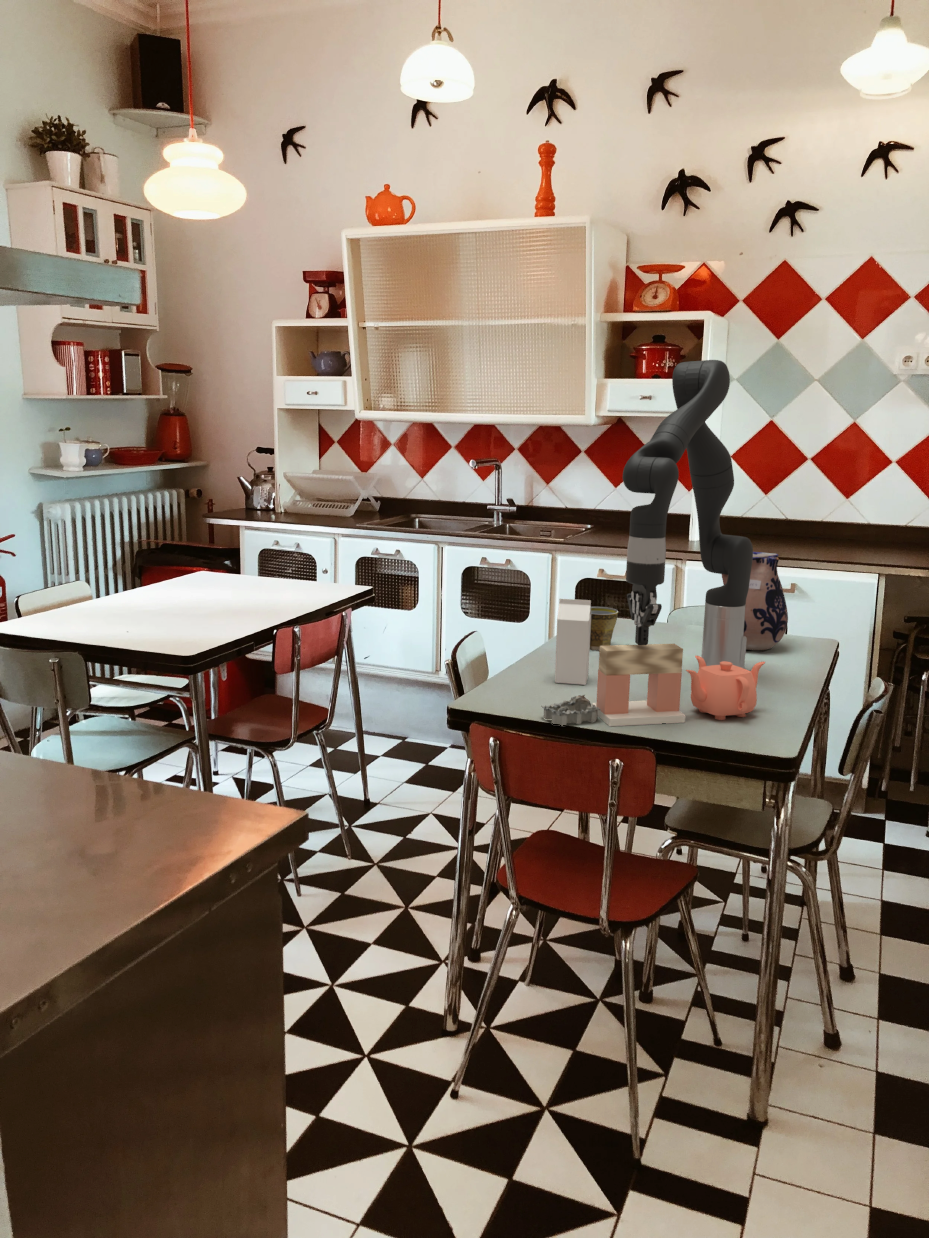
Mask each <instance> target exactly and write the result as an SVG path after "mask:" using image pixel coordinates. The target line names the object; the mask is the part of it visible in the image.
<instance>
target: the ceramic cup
mask: <svg viewBox="0 0 929 1238" xmlns="http://www.w3.org/2000/svg"><path fill="white" fill-rule="evenodd" d="M618 616H619V611H618V609H615V608H611V607H607V606H591V630H590V651H600V646H607V645H611V643H612V638H613V633H614V630H615V627H616V624H617V620H618Z"/></svg>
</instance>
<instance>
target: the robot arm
mask: <svg viewBox="0 0 929 1238" xmlns="http://www.w3.org/2000/svg"><path fill="white" fill-rule="evenodd" d="M671 380H672V383H671V386H672V391H673V398H674V401H675V405H676V409H675V410H674V411H673V412H671V413H670V414H669V415H667V416H666V417H665V418H664V419H663V420H662V421H661V422H660V423H659V425H658V427H656V429H655V431H654V433H653V435H652V437H651V438H650V440H649V441H648V442H646V443H645V444H644V445H643V446H641V447H640V448H639V449H638V450H636V451H635V452H634V453H633V454H632V455H631V456H630V458H629V459H627V461H626V464H625V465H624V467H623V471H622V482H623V485H624V487H625V488H626V489H627V490H628V491H630V492H631V493H637V494H651V495H652V494H653V495H654V498H653V500H652V501H651V502H650V503H648V504H642V505H636V506H634V507H632V509H631V511H630V516H629V517H630V518H629V533H628V534H629V536H628V542H627V549H626V550H627V551H626V553H627V554H626V566H625V567H626V568H625V569H626V570H625V580H626V582H627V583H628V584H632V587H631V588H632V591H631V593H626V599H627V604H628V609H629V610H628V611H629V613H630V618H631V621H634V623H633V624H634V625H635V634H634V635H635V636H634V641H635V645H647V644H649V632H650V628H651V626H653V627H654V626H655V624H656V622H657V619H658V618H659V615H660V613H661V611H662V604H661V603H657V600H658V592H657V586H658V585H662V584H664V583H665V575H666V574H665V573H666V572H665V571H666V556H667V544H666V535H667V534H666V533H667V521H668V520H667V518H668V513H669V509H670V505H671V502H672V499H673V496H674V493H675V491H676V488H677V485H678V483H679V481H678V480H679V476H680V475H679V471H680V470H679V467H678V465H677V463H678V462H679V461H680V460H681V459H682V456H683V455H684V453H685V451H686V453H687V454H686V455H687V459H688V462H687V463H688V468H689V469H688V470H689V474H690V480H691V485H692V489H693V490H692V491H693V495H694V496H693V497H694V502H695V507H696V516H697V524H698V538H699V541H698V542H699V552H700V558H701V563H702V565H703V566H702V567H703V568H704V569H705V570H706V572H710V573H712V574H719V575H722V574H725V575H728V579H727V583H726V584H725V585H724V584H723V585H720V586H717V587H713V588H710V589H708V590H707V591H706V592H705V598H704V599H705V601H704V613H703V615H704V616H703V627H702V628H703V630H702V631H703V632H702V645H701V646H702V647H701V656H700V657H702V658H703V659H704V661H705V663H706V666H711V665H720V662H722V661H727V662H731V663H733V664H732V665H735V666H738V667H741V668H744V669H745V666H746V665H745V662H746V651H747V650H746V640H747V638H746V637H745V636H743V632H744V620H745V607H746V598H747V594H748V590H749V582H750V574H751V567H752V560H753V552H754V546H753V543H752V542H751V539H750V538H748V537H746V536H742V535H741V536H740V535H732V534H724V533H722V531H721V527H720V517H721V514H722V511H723V509H724V508H725V505H726V503H727V502H728V500H729V498H730V496H731V494H732V492H733V489H734V486H735V476H734V470H733V463H732V457H731V455H730V454H731V453H730V452H729V450H728V448H727V447H726V446H725V445H724V443H723V442H722V441H721V440H720V439H719V438H718V436H717V435H716V434H715V433H714V431H712V430H711V428H710V427H709V426H708V424H707V423H706V421H707V420H708V419H709V418H710V417H711V416H712V415H713V413H714V412H715V411H716V410H717V409H718V407H719V406H721V404H723V402H724V401H725V399H726V397H727V395H728V392H729V390H730V385H731V383H730V382H731V376H730V370H729V368H728V366H727V364H726V363H725V362H724V361H722V360H719V359H706V360H696V361H694V360H691V361H683V362H679V363H677V364H676V366H674V369H673V372H672V379H671Z"/></svg>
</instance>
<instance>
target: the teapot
mask: <svg viewBox="0 0 929 1238" xmlns="http://www.w3.org/2000/svg"><path fill="white" fill-rule="evenodd" d="M695 658H696V660H697V662H698V671H697V672H696V671H695V670H692V669H691V670H690V669H685V671H686V672H687V673H688V675H690V679H691V682H690V691H691V692H690V700H691V704H692V706H693V707H695V708H697V709H698V712H699V713H704V714H705V713H707V714H710V715H712V716H714V719H715V720H717V721H725V720H726V716H736V717H737V718H747V713H748V714H749V713H751V712H753V711H754V709H755V707H756V706H757V702H758V701H757V699H758V697H757V695H758V694H757V686H758V682H759V680H758V679H759V673H760V669H761V668H762V667H763V665H764V664H766V661H759V662H756V663H755V664H753V666H752V668H751V670H748V669H747V668H745V667H744V668H741V667H738V666H735V665H732V664H733V663H731V662H727V661H722V662H720V665H711V666H706V663H705V661H704V659H703V658H702V657H701V656H700V655H695Z"/></svg>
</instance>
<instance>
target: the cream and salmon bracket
mask: <svg viewBox="0 0 929 1238" xmlns="http://www.w3.org/2000/svg"><path fill="white" fill-rule="evenodd" d="M682 673H683V672H682ZM682 673H663V674H648V679H647V680H648V681H647V695H646V700H630V686H631V675H605V674H603V673H602V672H601V671H600V670H599V668H598V669H597V684H596V685H597V686H596V687H597V689H596V702H591V707H593V705H595V707H596V708H597V707H599V709H601V710H598V718H600V719H601V720H602V721H603V722H604V723H605V724H606V725H607V726H608V727H620V726H622V727H623V726H625V727H626V726H642V725H643V726H644V725H660V724H661V725H662V723H666V724H682V723H686V715H685V714H684V713H683V712H682V711H680V706H681V690H682Z"/></svg>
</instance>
